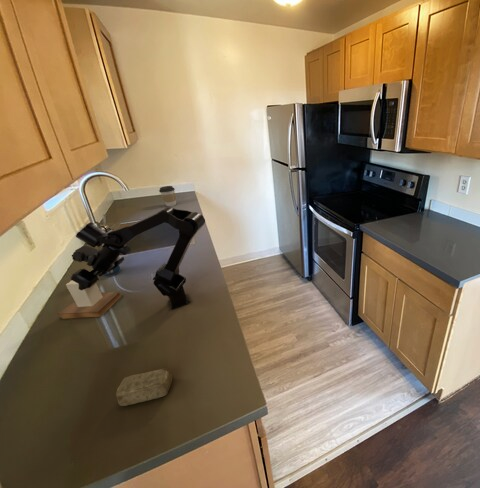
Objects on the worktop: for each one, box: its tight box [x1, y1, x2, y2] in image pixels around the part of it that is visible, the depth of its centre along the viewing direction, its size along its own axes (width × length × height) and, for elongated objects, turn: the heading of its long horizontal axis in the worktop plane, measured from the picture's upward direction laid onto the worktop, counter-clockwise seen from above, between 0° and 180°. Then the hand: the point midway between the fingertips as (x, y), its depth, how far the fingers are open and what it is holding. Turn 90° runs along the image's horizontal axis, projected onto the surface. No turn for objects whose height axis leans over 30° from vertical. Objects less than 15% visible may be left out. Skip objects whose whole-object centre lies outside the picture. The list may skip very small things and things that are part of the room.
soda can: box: [98, 248, 121, 277], centre depth 127 cm, size 7×7×12 cm
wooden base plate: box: [58, 291, 122, 320], centre depth 105 cm, size 14×12×2 cm
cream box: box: [65, 280, 103, 307], centre depth 103 cm, size 6×6×10 cm
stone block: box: [115, 367, 173, 407], centre depth 70 cm, size 6×12×5 cm, turn 106°
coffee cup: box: [158, 185, 177, 207], centre depth 225 cm, size 11×11×15 cm
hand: (89, 282), depth 101 cm, fingers open, 9 cm apart
